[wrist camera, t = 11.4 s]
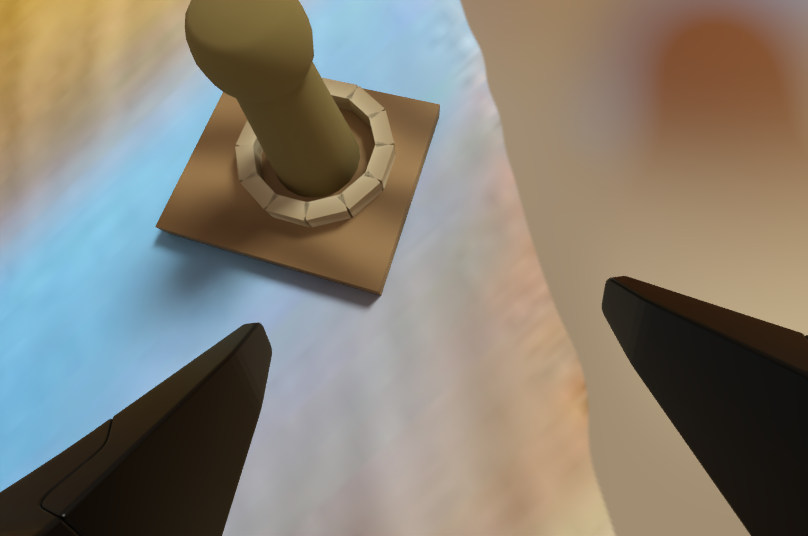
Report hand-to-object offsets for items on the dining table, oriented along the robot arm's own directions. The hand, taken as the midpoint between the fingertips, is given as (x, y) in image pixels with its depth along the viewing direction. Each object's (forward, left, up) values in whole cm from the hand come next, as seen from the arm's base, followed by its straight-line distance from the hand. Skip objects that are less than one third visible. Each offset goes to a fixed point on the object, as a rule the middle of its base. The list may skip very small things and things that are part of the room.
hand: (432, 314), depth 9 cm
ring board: (+9, +12, -13) cm, 20 cm away
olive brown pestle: (+10, +11, -12) cm, 19 cm away
